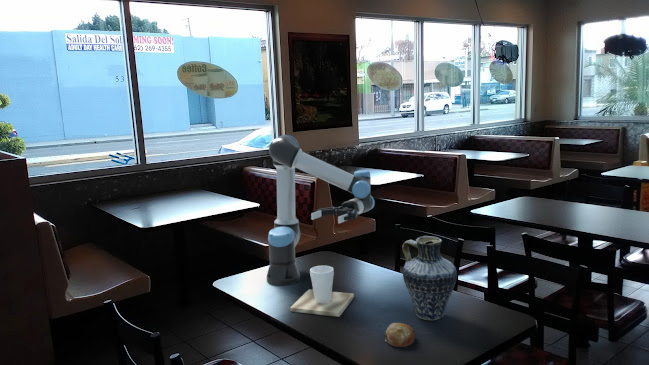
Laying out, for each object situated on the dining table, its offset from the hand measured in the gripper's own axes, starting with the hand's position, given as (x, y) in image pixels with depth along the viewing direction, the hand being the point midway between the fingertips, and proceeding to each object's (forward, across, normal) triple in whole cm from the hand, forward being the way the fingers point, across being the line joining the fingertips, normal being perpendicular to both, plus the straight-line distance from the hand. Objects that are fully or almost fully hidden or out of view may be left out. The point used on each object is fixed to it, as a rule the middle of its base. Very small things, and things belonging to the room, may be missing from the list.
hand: (325, 218), depth 221 cm
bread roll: (+25, -47, -32) cm, 62 cm away
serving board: (+12, -6, -32) cm, 35 cm away
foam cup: (+12, -6, -30) cm, 34 cm away
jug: (+2, -47, -32) cm, 57 cm away
